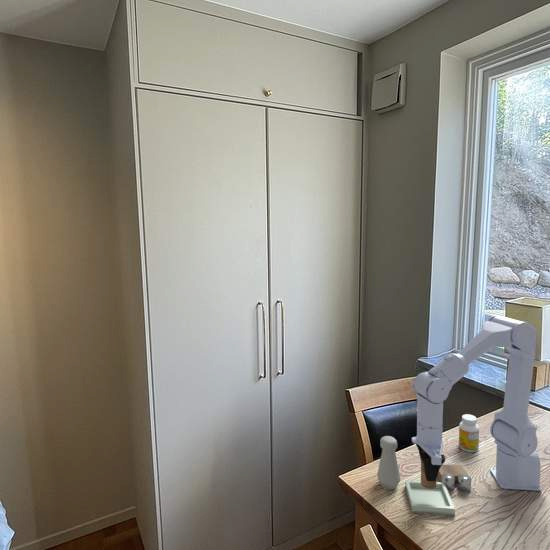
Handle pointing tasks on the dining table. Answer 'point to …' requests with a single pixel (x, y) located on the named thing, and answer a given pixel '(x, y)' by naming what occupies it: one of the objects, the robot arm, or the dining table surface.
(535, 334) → the robot arm
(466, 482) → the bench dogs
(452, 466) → the wooden block
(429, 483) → the dowel
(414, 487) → the tray
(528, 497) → the dining table surface
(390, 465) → the salt shaker
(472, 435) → the supplement bottle
